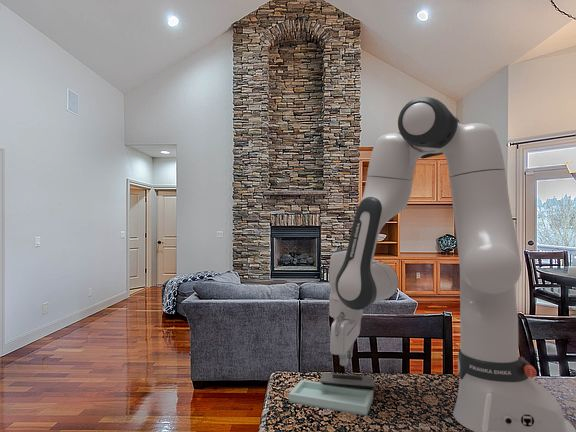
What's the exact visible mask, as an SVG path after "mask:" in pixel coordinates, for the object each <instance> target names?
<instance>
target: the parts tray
mask: <svg viewBox="0 0 576 432" xmlns="http://www.w3.org/2000/svg"><path fill="white" fill-rule="evenodd" d="M373 401H374V390H373V389H368V388H364V389H360V388H354V387H343V386H331V385H324V384H322V383H321V381H320V382H319V381H312V380H307V379H300V380H299V382H298V383H297V384H296V385H295V386H294V387H293V388H292V390H290V392H289V393H288V403H290V404H294V405H295V404H296V405H302V406H308V407H313V408H320V409H326V410H331V411H336V412H343V413H348V414H353V415H358V416H359V415H360V416H366V417H367V416H368V414H369V411H370V409H371V407H372V403H373Z"/></svg>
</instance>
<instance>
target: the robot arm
mask: <svg viewBox="0 0 576 432" xmlns="http://www.w3.org/2000/svg"><path fill="white" fill-rule="evenodd" d="M397 128H398V132H388V133H385V134H382V135H380V136H379V137H378V138H377V139H376V140H375V142H374V145H373V148H372V150H371V151H372V152H371V154H370V158H369V163H368V165H367V166H368V168H367V171H366V173H367V174H366V181H365V186H364V191H363V194H362V198H361V201H360V203H359V204H358V206H357V210H356V212H355V214H354V215H355V216H354V219H353V224H352V227H351V232H350V236H349V239H348V244H347V248H343V249H337V250H335V251H334V252H333V253H332V254H331V255H330V259H329V269H328V271H329V272H328V281H329V282H328V283H329V286H330V292H329V296H328V297H329V299H328V305H329V306H328V308H329V309H328V313H329V314H328V315H329V317H331V318H333V322H332V323H331V326H330V339H329V340H330V341H329V351H330V353H331V355H336V356H338V358H339V365H340V366H342V367H346V366H347V365H348V363H349V361H348V360H351V359H352V357H353V349H354V343H355V341H356V340H357V338H358V337H359V335H360V332H361V328H362V327H361V326H362V325H361V324H362V318H363V315H364V313H363V311H364V309H366V308H368V307H369V306H371V305H373V304H376V303H379V302H382V301H384V300H387V299H389V298H392V297H393V296H394V295H395V294H396V293H397V291H398V288H399V277H398V274H397V272H396V270H395V269H394V268H393V267H392V266H391V265H390V264H388V263H385V262H381V261H379V260H376V259H374V257H375V253H376V248H377V243H378V238H379V234H380V233H381V231H382V229H383V227H384V226H385V225H386V223H388V222H389V221H390V220H391V219H392V218H394V217H395V216H397V215H398V214H400V213H402V212H403V211H404V210H405V209H406V207H407V206H408V203H409V200H410V197H411V194H412V190H413V189H412V188H413V180H414V174H415V168H416V164H417V162H418V160H419V159H422V160H423V159H428V158H432V157H437V156H440V155H444V156H445V160H446V163H447V168H448V178H449V185H450V194H451V203H452V212H453V219H454V229H455V236H456V246H457V254H458V255H457V256H458V262H459V303H460V304H459V311H460V312H459V315H460V316H459V318H460V319H459V322H460V324H459V325H460V328H459V329H460V330H459V331H460V348H459V349H458V356H457V374H458V377H459V384H458V391H457V395H456V396H457V397H456V401H455V405H454V408H453V411H452V415H453V418H454V419H455V420H456V421H457V422H458V423H459V424H460V425H461V426H463V427H464V428H466V429H467V430H470V431H472V432H576V429H575V427H574V426H573V425H572V423H571V422H569V420H567V419H566V418H565V417H564V412H563V409H562V406H561V405H560V403H559V402H558V400H557V399H556V397H555V396H554V395H553V394H552V393H551V392H550V391H549V390H547V389H546V388H544V387H543V386H542V385H541V384H540V383H538V382H537V381H536V380H535V379H533V378H535V377H536V376H537V370H536V368H535V367H534V366H533V365H531V363H530V362H529V361H528V360H526V359H525V358H524V357H523V356H520V353H519V316H518V310H517V309H518V308H517V298H516V297H517V296H516V285H517V283H518V281H519V279H520V277H521V272H522V263H521V255H520V248H519V245H518V239H517V234H516V228H515V223H514V219H513V213H512V209H511V204H510V197H509V190H508V188H509V187H508V179H507V174H506V166H505V160H504V155H503V151H502V148H501V144H500V141H499V138H498V136H497V133H496V131H495V129H494V128H493V127H492V126H491V125H489V124H486V123H481V122H473V123H472V122H470V123H466V124H462V123H461V122H460V120H459V119H458V117H457V116H456V115H455V113H454V112H453V110H451V109H450V108H449V107H448V106H446V105H445V104H444V103H443V102H441V100H439V99H437V98H435V97H429V96H419V97H416V98H413V99H412V100H410V101H408V102H407V103H406V104H405V105H404V106H403V107H402V109H401V111H400V112H399V115H398V118H397Z"/></svg>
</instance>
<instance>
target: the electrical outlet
mask: <svg viewBox="0 0 576 432" xmlns="http://www.w3.org/2000/svg"><path fill="white" fill-rule="evenodd" d="M320 382H321V383H322V384H324V385H331V386H343V387H354V388H360V389H367V390H373V389H375V388H376V386H377V385H376V383H375V381H374V379H373V377H372V376H370V375H357V374H345V373H343V374H342V373H336V372H335V373H334V372H321V378H320Z"/></svg>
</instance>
